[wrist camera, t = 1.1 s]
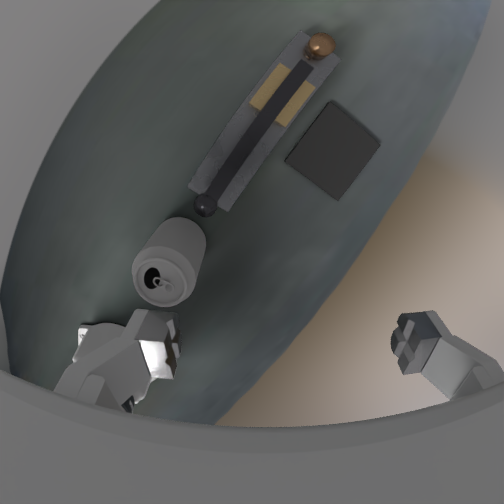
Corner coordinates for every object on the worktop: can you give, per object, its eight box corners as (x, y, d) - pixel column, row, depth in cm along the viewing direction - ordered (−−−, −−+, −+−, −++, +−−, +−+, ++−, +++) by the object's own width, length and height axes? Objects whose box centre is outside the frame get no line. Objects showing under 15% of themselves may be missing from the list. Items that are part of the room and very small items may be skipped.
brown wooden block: (280, 126, 31) (285, 127, 27) (248, 105, 29) (248, 102, 26) (307, 91, 29) (315, 87, 25) (276, 69, 28) (279, 62, 24)
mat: (336, 200, 38) (337, 201, 37) (284, 161, 35) (284, 161, 35) (378, 144, 34) (380, 145, 34) (328, 101, 32) (330, 101, 31)
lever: (210, 217, 31) (208, 221, 30) (191, 206, 30) (189, 209, 29) (315, 72, 24) (317, 70, 23) (295, 59, 23) (297, 56, 22)
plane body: (229, 205, 38) (225, 224, 31) (191, 181, 36) (178, 195, 30) (336, 61, 29) (355, 49, 23) (298, 34, 28) (309, 16, 21)
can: (164, 207, 38) (134, 242, 27) (214, 226, 39) (202, 269, 28) (150, 252, 41) (121, 298, 30) (197, 270, 42) (182, 322, 31)
